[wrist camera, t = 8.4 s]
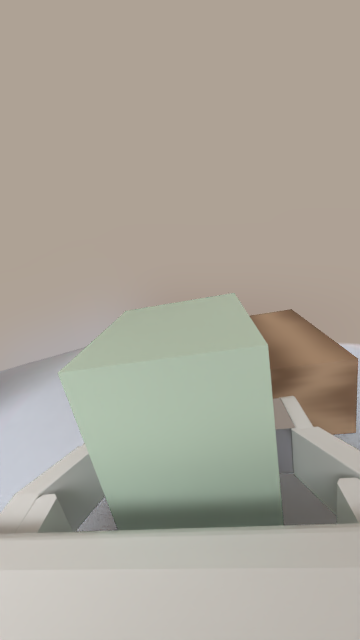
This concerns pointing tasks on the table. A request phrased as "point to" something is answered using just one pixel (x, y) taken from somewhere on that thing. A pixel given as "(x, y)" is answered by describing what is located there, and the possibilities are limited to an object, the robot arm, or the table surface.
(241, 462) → the sage block
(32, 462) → the table surface
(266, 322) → the walnut block
